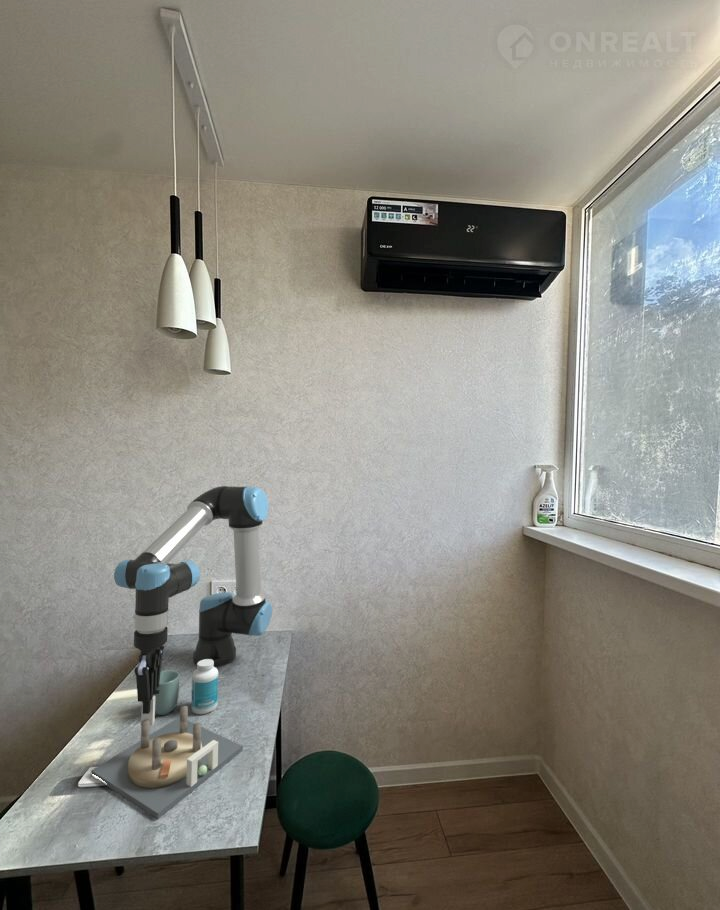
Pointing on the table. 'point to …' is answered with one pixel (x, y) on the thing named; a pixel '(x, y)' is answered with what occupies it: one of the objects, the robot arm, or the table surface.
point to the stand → (166, 797)
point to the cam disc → (164, 755)
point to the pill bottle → (204, 687)
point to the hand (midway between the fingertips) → (147, 723)
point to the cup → (167, 692)
